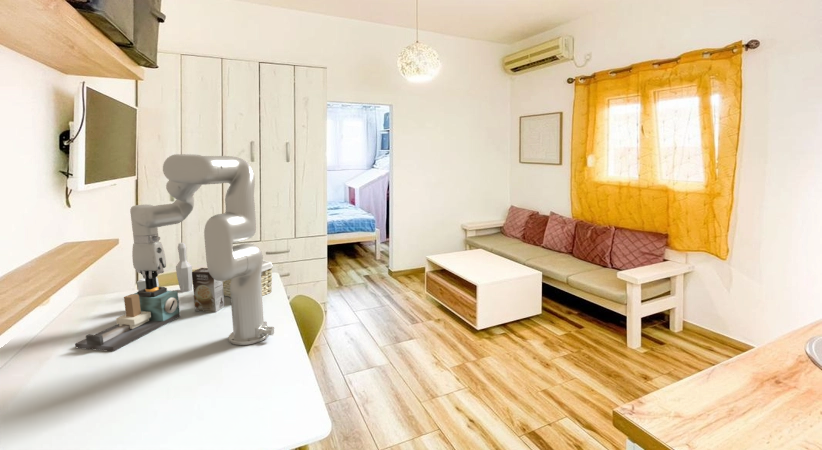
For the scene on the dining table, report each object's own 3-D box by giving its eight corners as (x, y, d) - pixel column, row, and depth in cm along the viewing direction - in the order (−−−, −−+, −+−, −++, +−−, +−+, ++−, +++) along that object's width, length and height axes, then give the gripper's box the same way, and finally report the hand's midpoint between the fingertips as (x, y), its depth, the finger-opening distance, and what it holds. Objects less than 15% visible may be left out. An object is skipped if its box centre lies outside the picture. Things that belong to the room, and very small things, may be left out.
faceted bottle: (175, 290, 180) (170, 243, 176) (189, 287, 185) (185, 241, 181) (182, 293, 176) (177, 245, 173) (196, 289, 181) (192, 242, 178)
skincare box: (162, 305, 162) (159, 277, 160) (157, 309, 157) (153, 280, 155) (145, 306, 160) (142, 277, 159) (140, 310, 156) (136, 281, 154)
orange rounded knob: (161, 291, 147) (161, 286, 147) (152, 295, 143) (152, 290, 143) (152, 291, 148) (151, 286, 148) (143, 294, 144) (142, 289, 144)
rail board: (182, 316, 150) (179, 287, 148) (116, 351, 123) (111, 315, 121) (147, 314, 152) (144, 285, 150) (75, 347, 125) (70, 313, 123)
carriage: (151, 321, 141) (148, 293, 140) (135, 329, 134) (131, 299, 133) (134, 319, 142) (131, 292, 141) (117, 327, 136) (113, 298, 134)
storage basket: (276, 292, 177) (274, 260, 175) (245, 304, 163) (242, 269, 161) (240, 284, 189) (238, 254, 186) (209, 294, 175) (206, 262, 172)
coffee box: (194, 311, 155) (190, 271, 152) (204, 305, 161) (200, 267, 159) (216, 312, 154) (212, 272, 152) (225, 306, 160) (222, 268, 158)
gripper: (172, 237, 145) (177, 286, 148) (136, 236, 147) (142, 284, 150) (156, 242, 137) (161, 292, 140) (119, 240, 140) (125, 290, 143)
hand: (151, 288), depth 145 cm, fingers closed
